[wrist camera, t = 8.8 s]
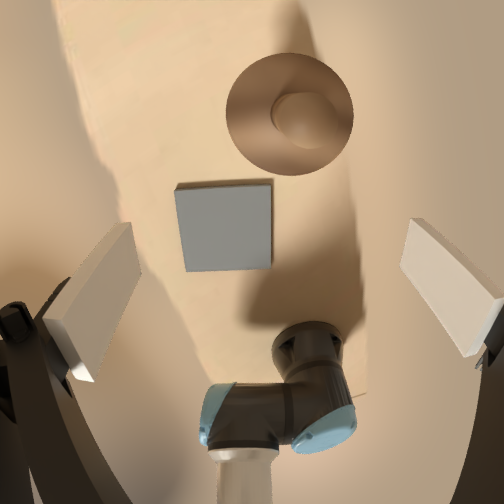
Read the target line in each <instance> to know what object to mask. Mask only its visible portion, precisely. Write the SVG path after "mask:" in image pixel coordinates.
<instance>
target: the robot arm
mask: <svg viewBox="0 0 504 504" xmlns="http://www.w3.org/2000/svg"><path fill="white" fill-rule="evenodd" d="M399 267H400V269H401V270H402V271H403V272H404V274H405V275H406V276H407V277H408V279H409V280H410V281H411V283H412V284H413V285H414V287H415V288H416V289H417V290H418V292H419V293H420V294H421V296H422V297H423V299H424V300H425V301H426V303H427V304H428V305H429V307H430V308H431V309H432V311H433V312H434V314H435V315H436V317H437V318H438V319H439V321H440V322H441V324H442V325H443V327H444V328H445V329H446V331H447V332H448V334H449V335H450V337H451V338H452V340H453V341H454V343H455V345H456V346H457V348H458V349H459V351H460V352H461V354H462V355H463V357H464V358H465V357H468V356H471V355H474V354H477V352H478V351H479V349H480V347H481V346H482V344H483V342H484V343H485V344H486V346H487V349H486V350H485V352H484V353H483V355H482V357H481V358H480V360H479V361H478V363H477V364H476V367H475V369H477V368H478V367H479V365H481V364H483V365H482V368H481V369H480V371H482V375H481V384H480V391H479V399H478V405H477V411H476V416H475V421H474V426H473V431H472V435H471V439H470V443H469V447H468V451H467V455H466V458H465V462H464V466H463V469H462V472H461V475H460V478H459V481H458V484H457V486H456V489H455V492H454V495H453V497H452V500H451V502H450V504H504V293H503V292H502V291H501V290H500V289H499V288H498V287H497V286H496V285H495V284H494V283H493V282H492V281H491V280H490V279H489V278H488V277H487V276H486V275H485V274H484V273H483V272H482V271H481V270H480V269H479V268H478V267H477V266H476V265H475V264H474V263H473V262H472V261H471V260H469V258H468V257H467V256H465V255H464V254H463V253H462V252H461V251H460V250H459V249H458V248H457V247H455V246H454V245H453V244H452V243H451V242H450V241H449V240H447V239H446V238H445V237H444V236H443V235H442V234H440V233H439V232H438V231H437V230H436V229H435V228H433V227H432V226H431V225H430V224H428V223H427V222H426V221H425V220H424V219H421V218H419V219H418V218H410V223H409V227H408V232H407V237H406V241H405V245H404V250H403V253H402V257H401V262H400V265H399ZM141 274H142V273H141V269H140V265H139V260H138V255H137V251H136V246H135V241H134V236H133V230H132V225H131V222H126V223H116V224H115V225H114V226H113V227H112V228H111V230H110V231H109V232H108V233H107V234H106V235H105V237H104V238H103V239H102V240H101V241H100V242H99V243H98V245H97V246H96V247H95V248H94V249H93V251H92V252H91V253H90V254H89V256H88V257H87V258H86V259H85V261H84V262H83V263H82V264H81V265H80V267H79V268H78V270H77V271H76V272H75V273H74V274H73V276H72V277H68V278H67V279H65V280H64V281H63V282H62V283H60V284H59V285H58V286H57V288H56V289H55V290H54V292H53V294H51V296H50V297H49V298H48V301H46V302H45V304H44V305H43V306H42V308H41V310H40V311H39V312H38V314H37V315H36V316H35V318H34V319H32V317H31V315H30V313H29V311H28V309H27V307H26V305H25V303H23V302H12V303H9V304H7V305H6V306H4V307H3V308H2V309H1V310H0V335H1V336H2V338H3V340H0V504H34V499H33V493H32V488H31V482H30V474H29V468H30V471H31V474H32V476H33V479H34V482H35V485H36V487H37V490H38V492H39V495H40V497H41V499H42V502H43V504H133V503H132V502H131V500H130V499H129V497H128V496H127V494H126V493H125V491H124V490H123V489H122V487H121V485H120V484H119V482H118V480H117V479H116V477H115V476H114V474H113V472H112V471H111V469H110V467H109V465H108V464H107V462H106V460H105V458H104V456H103V455H102V453H101V452H100V449H99V447H98V445H97V443H96V441H95V439H94V437H93V435H92V433H91V431H90V429H89V427H88V425H87V423H86V421H85V419H84V416H83V414H82V412H81V410H80V407H79V405H78V403H77V400H76V398H75V395H74V393H73V390H72V388H71V385H70V382H69V381H68V379H67V378H66V374H67V372H68V370H69V368H70V370H71V371H72V373H73V375H74V376H75V377H76V379H79V380H85V381H91V382H95V379H96V377H97V374H98V371H99V369H100V366H101V364H102V361H103V359H104V356H105V354H106V351H107V349H108V347H109V344H110V342H111V340H112V337H113V334H114V333H115V330H116V328H117V326H118V323H119V321H120V319H121V316H122V315H123V312H124V310H125V308H126V306H127V303H128V301H129V299H130V297H131V295H132V293H133V291H134V289H135V287H136V284H137V283H138V280H139V278H140V276H141ZM272 358H273V362H274V364H275V366H276V368H277V370H278V372H279V373H280V375H281V377H282V378H283V380H284V383H237V382H233V383H228V384H214V385H212V386H211V387H210V388H209V389H208V391H207V393H206V395H205V399H204V402H203V406H202V411H201V417H200V430H199V441H200V443H201V444H203V445H205V446H208V455H209V456H210V457H211V458H212V459H213V460H214V461H215V462H216V463H217V504H272V483H271V462H272V461H273V460H274V459H275V458H276V457H277V456H278V455H279V445H287V444H291V447H292V449H293V450H294V451H295V452H296V453H302V454H311V453H316V452H320V451H324V450H327V449H329V448H332V447H334V446H336V445H338V444H340V443H342V442H343V441H345V440H346V439H348V438H349V437H350V436H351V435H352V434H353V433H354V431H355V430H356V427H357V419H356V415H355V406H354V405H353V402H352V399H351V395H350V392H349V389H348V385H347V382H346V379H345V376H344V373H343V369H342V359H343V341H342V338H341V335H340V333H339V331H338V330H337V329H336V328H335V327H333V326H332V325H330V324H327V323H323V322H306V323H301V324H298V325H295V326H292V327H290V328H288V329H287V330H285V331H284V332H282V333H281V334H280V335H279V336H278V337H277V338H276V339H275V341H274V343H273V345H272ZM28 465H29V466H28Z"/></svg>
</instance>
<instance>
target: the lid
mask: <svg viewBox="0 0 504 504" xmlns="http://www.w3.org/2000/svg"><path fill="white" fill-rule="evenodd" d="M353 117H354V115H353V105H352V101H351V97H350V94H349V92H348V90H347V88H346V86H345V84H344V83H343V81H342V80H341V79H340V77H339V76H338V75H337V74H336V73H335V72H334V71H333V70H332V69H331V68H330V67H328V66H327V65H325V64H324V63H322V62H321V61H319V60H317V59H315V58H312V57H309V56H306V55H301V54H294V53H281V54H275V55H271V56H268V57H265V58H262V59H260V60H258V61H256V62H255V63H253V64H252V65H250V66H249V67H248V68H246V69H245V70H244V71H243V72H242V73H241V74H240V76H239V77H238V78H237V79H236V81H235V83H234V84H233V86H232V88H231V90H230V93H229V96H228V99H227V105H226V121H227V127H228V130H229V134H230V136H231V138H232V141H233V142H234V144H235V146H236V147H237V149H238V150H239V151H240V152H241V154H242V155H243V156H244V157H245V158H246V159H247V160H249V161H250V162H251V163H253V164H254V165H256V166H257V167H259V168H261V169H263V170H265V171H268V172H271V173H274V174H279V175H286V176H296V175H303V174H308V173H311V172H314V171H317V170H319V169H321V168H323V167H324V166H326V165H328V164H329V163H330V162H332V161H333V160H334V159H335V158H336V157H337V156H338V155H339V154H340V153H341V151H342V150H343V148H344V147H345V145H346V143H347V142H348V140H349V137H350V134H351V131H352V127H353Z"/></svg>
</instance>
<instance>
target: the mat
mask: <svg viewBox="0 0 504 504" xmlns="http://www.w3.org/2000/svg"><path fill="white" fill-rule="evenodd" d="M174 195H175V202H176V210H177V217H178V224H179V231H180V237H181V243H182V250H183V256H184V262H185V268H186V272H201V271H228V270H252V269H271V185H270V184H254V185H231V186H213V187H197V188H183V189H175V191H174Z"/></svg>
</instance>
